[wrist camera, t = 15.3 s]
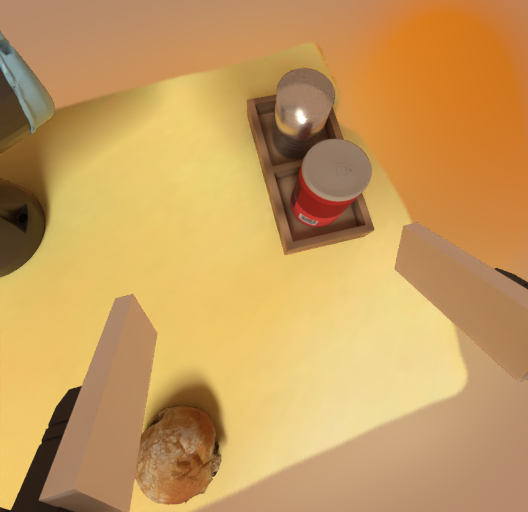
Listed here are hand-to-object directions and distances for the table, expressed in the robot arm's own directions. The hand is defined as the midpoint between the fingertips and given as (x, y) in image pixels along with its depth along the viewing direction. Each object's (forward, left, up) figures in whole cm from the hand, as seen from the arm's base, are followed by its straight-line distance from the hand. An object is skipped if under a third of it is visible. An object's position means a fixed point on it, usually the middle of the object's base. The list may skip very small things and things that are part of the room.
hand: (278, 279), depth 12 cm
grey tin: (-11, +24, -25) cm, 37 cm away
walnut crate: (-6, +20, -25) cm, 33 cm away
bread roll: (+3, -22, -26) cm, 34 cm away
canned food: (-2, +16, -25) cm, 29 cm away
